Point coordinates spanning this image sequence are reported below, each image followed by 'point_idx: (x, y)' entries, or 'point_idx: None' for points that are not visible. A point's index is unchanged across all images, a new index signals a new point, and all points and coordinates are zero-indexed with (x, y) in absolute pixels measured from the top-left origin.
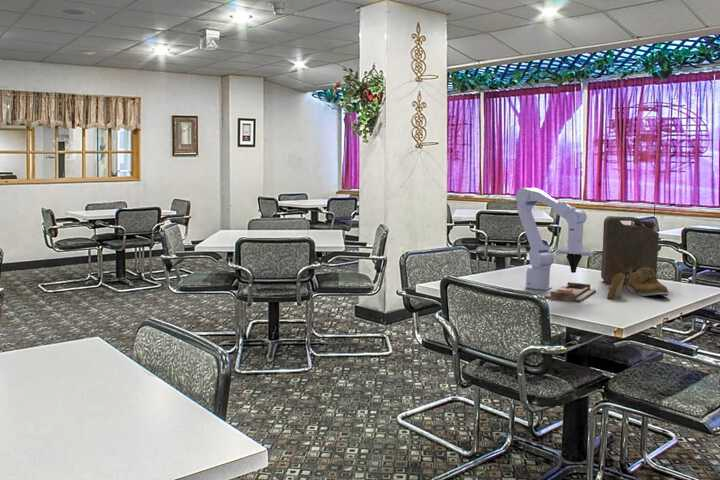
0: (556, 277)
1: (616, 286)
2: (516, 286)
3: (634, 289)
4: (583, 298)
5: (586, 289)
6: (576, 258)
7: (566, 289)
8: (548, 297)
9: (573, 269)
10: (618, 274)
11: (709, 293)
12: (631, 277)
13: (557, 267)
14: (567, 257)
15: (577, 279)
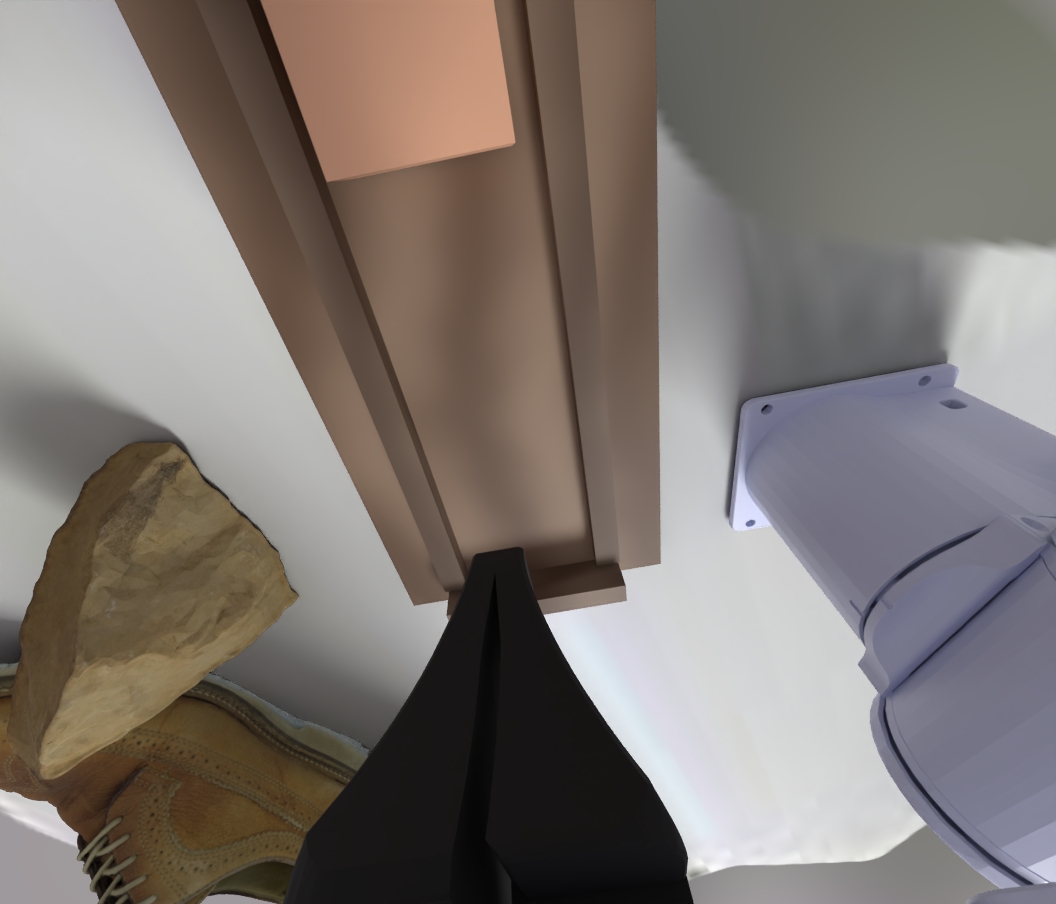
0: (771, 740)
1: (51, 566)
2: (1032, 382)
3: (259, 721)
4: (205, 172)
5: (418, 524)
6: (358, 825)
7: (368, 55)
8: None
9: (482, 585)
10: (35, 738)
11: (70, 835)
12: (287, 816)
13: (805, 844)
14: (628, 795)
15: (663, 758)
